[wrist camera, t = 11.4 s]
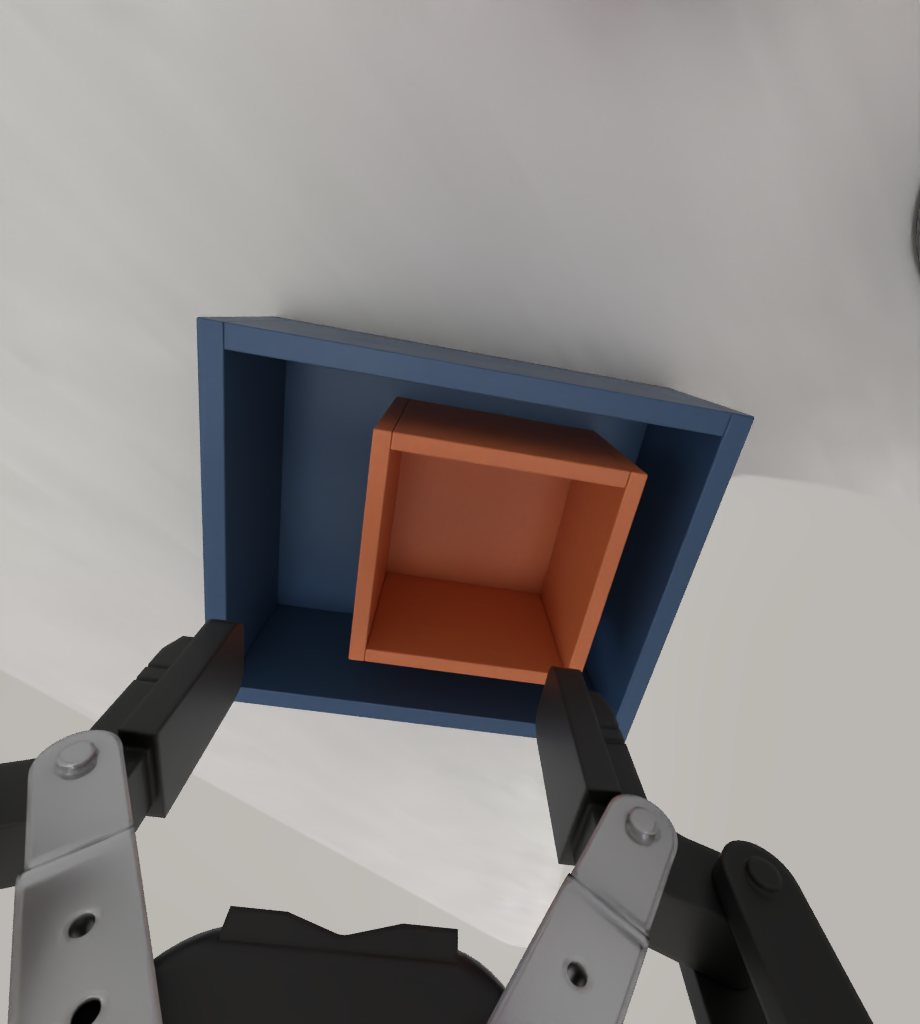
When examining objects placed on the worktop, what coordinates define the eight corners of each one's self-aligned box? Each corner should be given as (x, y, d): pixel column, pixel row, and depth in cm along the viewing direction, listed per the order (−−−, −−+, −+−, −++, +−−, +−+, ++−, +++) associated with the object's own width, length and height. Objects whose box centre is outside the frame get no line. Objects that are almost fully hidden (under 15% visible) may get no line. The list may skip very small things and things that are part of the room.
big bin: (671, 388, 22) (755, 416, 16) (584, 651, 27) (622, 749, 21) (273, 316, 20) (195, 316, 14) (265, 607, 26) (207, 698, 20)
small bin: (595, 430, 22) (649, 474, 16) (547, 600, 25) (576, 689, 19) (396, 396, 21) (373, 428, 15) (374, 574, 24) (348, 659, 18)
